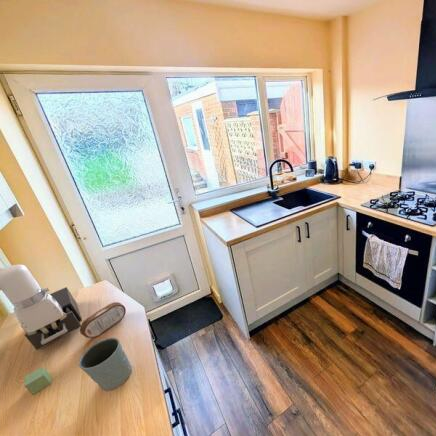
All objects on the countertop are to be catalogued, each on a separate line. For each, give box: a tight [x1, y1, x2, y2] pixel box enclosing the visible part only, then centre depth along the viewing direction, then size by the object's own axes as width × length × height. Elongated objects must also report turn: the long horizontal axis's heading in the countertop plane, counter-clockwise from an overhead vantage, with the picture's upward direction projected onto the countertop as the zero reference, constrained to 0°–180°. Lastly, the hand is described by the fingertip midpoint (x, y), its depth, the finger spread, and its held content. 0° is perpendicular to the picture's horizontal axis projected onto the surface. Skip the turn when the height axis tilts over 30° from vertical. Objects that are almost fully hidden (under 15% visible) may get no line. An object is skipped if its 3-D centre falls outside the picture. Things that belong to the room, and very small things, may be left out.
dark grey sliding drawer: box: [24, 306, 82, 351], centre depth 95 cm, size 20×13×8 cm, turn 46°
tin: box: [79, 301, 127, 339], centre depth 95 cm, size 15×3×8 cm, turn 149°
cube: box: [24, 366, 52, 395], centre depth 77 cm, size 4×4×4 cm
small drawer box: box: [20, 286, 82, 333], centre depth 101 cm, size 16×15×10 cm
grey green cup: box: [78, 337, 133, 392], centre depth 75 cm, size 10×10×12 cm
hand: (57, 336), depth 91 cm, fingers closed
